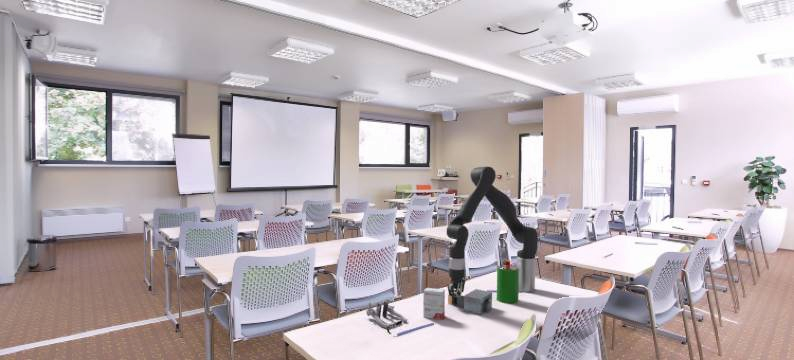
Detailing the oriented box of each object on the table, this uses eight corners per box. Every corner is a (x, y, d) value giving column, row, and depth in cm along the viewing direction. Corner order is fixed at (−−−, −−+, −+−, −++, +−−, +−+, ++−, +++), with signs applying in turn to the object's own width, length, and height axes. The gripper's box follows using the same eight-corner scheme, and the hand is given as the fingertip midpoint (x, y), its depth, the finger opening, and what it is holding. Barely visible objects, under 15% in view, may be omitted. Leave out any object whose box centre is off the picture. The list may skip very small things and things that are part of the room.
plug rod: (451, 301, 195) (451, 293, 195) (490, 310, 183) (491, 301, 183) (448, 303, 192) (448, 295, 192) (487, 313, 180) (487, 304, 180)
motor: (516, 297, 201) (517, 257, 200) (520, 303, 192) (521, 261, 191) (495, 296, 202) (496, 256, 201) (498, 303, 193) (499, 261, 192)
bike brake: (362, 316, 173) (389, 339, 157) (363, 301, 172) (391, 323, 156) (387, 310, 181) (416, 331, 166) (389, 295, 180) (418, 316, 165)
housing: (475, 303, 192) (476, 289, 192) (491, 307, 187) (492, 292, 187) (463, 310, 182) (464, 295, 182) (480, 315, 178) (480, 299, 177)
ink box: (445, 316, 176) (445, 289, 176) (442, 320, 172) (443, 292, 171) (426, 313, 179) (426, 287, 179) (423, 317, 174) (423, 290, 174)
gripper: (456, 271, 183) (456, 309, 183) (470, 265, 194) (470, 300, 195) (442, 268, 187) (441, 305, 188) (456, 262, 198) (456, 297, 199)
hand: (456, 303), depth 191 cm, fingers closed on plug rod, 3 cm apart
